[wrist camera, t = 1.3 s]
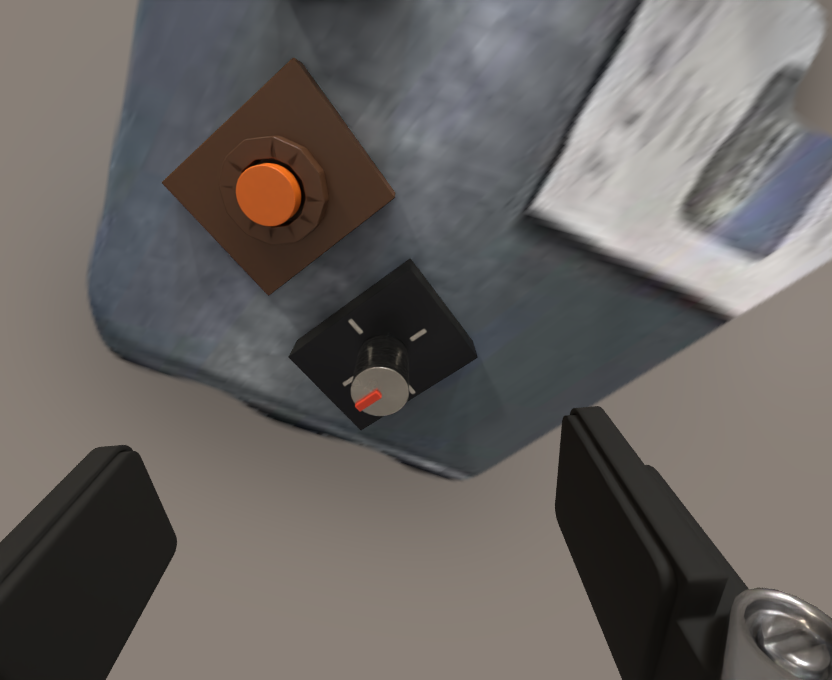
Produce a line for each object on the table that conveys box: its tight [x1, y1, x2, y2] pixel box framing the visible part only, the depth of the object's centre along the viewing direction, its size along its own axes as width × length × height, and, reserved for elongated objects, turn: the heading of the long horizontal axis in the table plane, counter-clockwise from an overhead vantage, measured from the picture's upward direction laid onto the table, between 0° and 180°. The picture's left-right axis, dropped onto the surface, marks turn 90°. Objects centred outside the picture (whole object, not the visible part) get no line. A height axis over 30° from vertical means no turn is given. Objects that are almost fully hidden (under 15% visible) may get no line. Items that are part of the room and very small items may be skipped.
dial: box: [351, 335, 409, 416], centre depth 31 cm, size 4×4×5 cm
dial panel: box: [289, 259, 477, 430], centre depth 35 cm, size 12×9×3 cm
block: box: [162, 58, 395, 296], centre depth 29 cm, size 12×10×4 cm
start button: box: [236, 163, 302, 226], centre depth 27 cm, size 4×4×2 cm
